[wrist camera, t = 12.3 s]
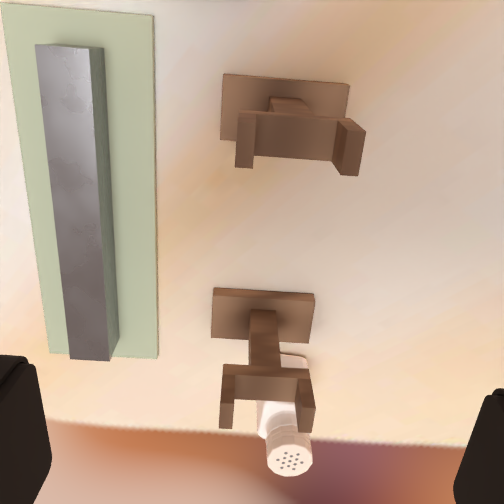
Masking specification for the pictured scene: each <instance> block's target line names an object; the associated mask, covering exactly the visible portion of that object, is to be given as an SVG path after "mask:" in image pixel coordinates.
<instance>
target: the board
mask: <svg viewBox="0 0 504 504" xmlns="http://www.w3.org/2000/svg"><path fill="white" fill-rule="evenodd" d="M0 7H1V14H2V21H3V28H4V35H5V42H6V49H7V56H8V63H9V70H10V78H11V85H12V92H13V99H14V106H15V113H16V120H17V127H18V134H19V141H20V148H21V155H22V162H23V169H24V176H25V183H26V190H27V197H28V204H29V211H30V218H31V225H32V232H33V239H34V246H35V253H36V260H37V267H38V274H39V281H40V288H41V296H42V303H43V310H44V317H45V324H46V331H47V338H48V345H49V352H50V353H56V354H69V345H68V336H67V327H66V318H65V309H64V301H63V292H62V283H61V274H60V265H59V256H58V248H57V239H56V230H55V221H54V212H53V203H52V195H51V186H50V177H49V168H48V159H47V150H46V142H45V133H44V124H43V115H42V106H41V97H40V88H39V80H38V71H37V62H36V53H35V44H67V45H78V46H89V47H101V48H104V54H105V72H106V91H107V110H108V129H109V147H110V166H111V185H112V204H113V223H114V241H115V260H116V279H117V298H118V316H119V335H120V338H119V341H118V343H117V345H116V348H115V350H114V352H113V355H112V357H127V358H144V359H157V358H158V291H157V223H156V154H155V85H154V17H153V16H152V15H140V14H129V13H117V12H105V11H94V10H82V9H71V8H59V7H47V6H36V5H24V4H13V3H1V2H0Z"/></svg>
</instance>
